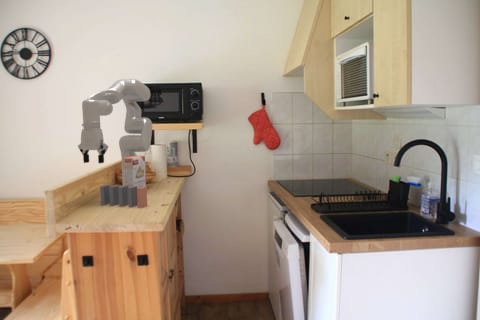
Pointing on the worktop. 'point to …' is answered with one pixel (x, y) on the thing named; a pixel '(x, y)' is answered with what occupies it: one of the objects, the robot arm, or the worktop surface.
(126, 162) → the cracker box
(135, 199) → the domino
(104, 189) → the domino
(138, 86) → the robot arm
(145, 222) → the worktop surface
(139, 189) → the red domino
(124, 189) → the domino
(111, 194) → the domino
